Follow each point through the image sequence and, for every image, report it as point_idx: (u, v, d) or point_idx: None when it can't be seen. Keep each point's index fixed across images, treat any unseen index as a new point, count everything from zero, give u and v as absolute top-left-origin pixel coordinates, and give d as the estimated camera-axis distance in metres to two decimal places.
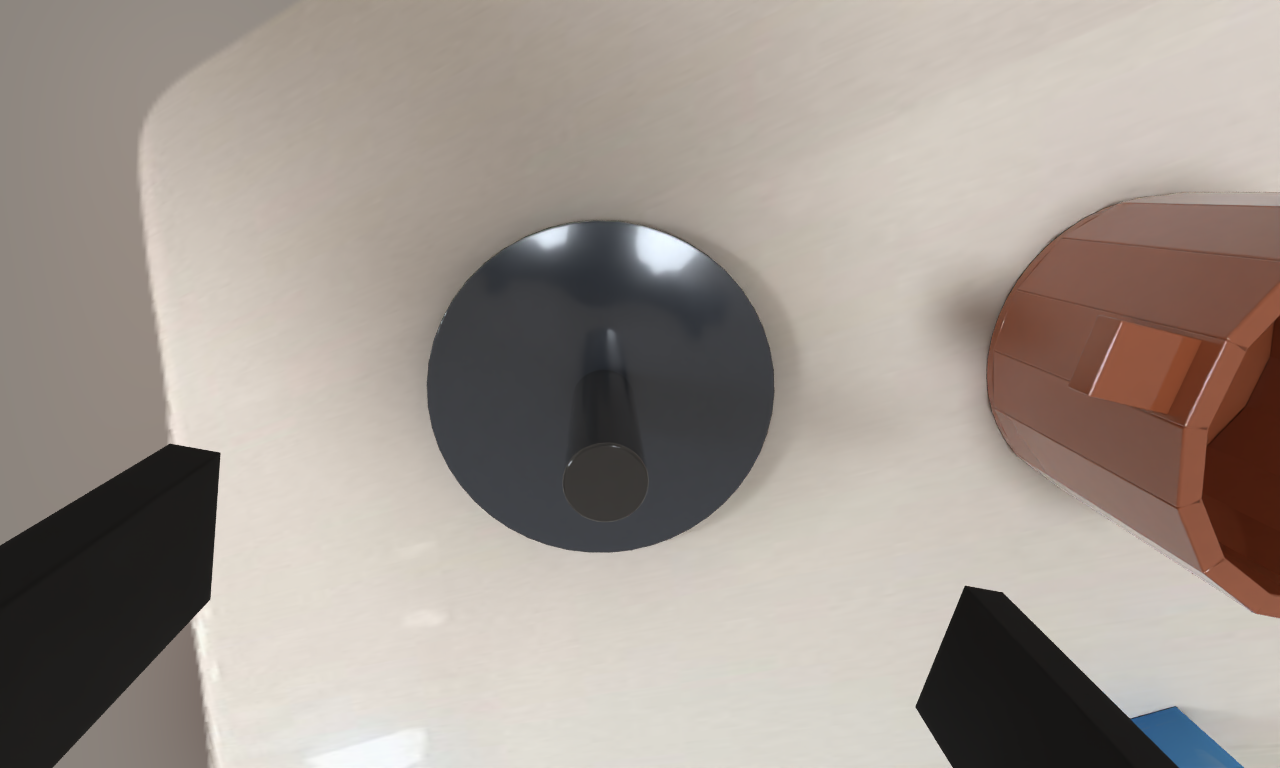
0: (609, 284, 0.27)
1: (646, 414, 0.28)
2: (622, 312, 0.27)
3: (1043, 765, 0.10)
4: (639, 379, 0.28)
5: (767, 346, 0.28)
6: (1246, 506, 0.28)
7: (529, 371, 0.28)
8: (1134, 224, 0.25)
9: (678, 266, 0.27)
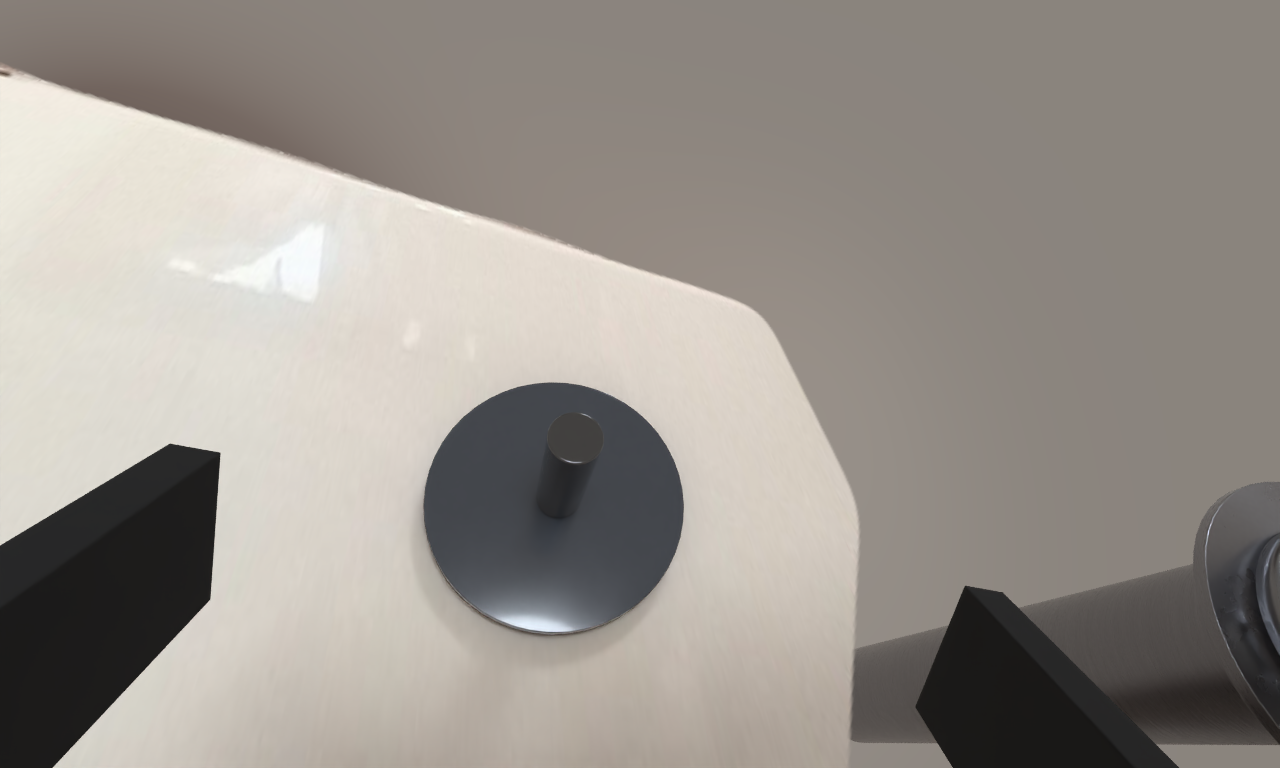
0: (640, 520, 0.38)
1: (538, 524, 0.37)
2: (619, 523, 0.38)
3: (1043, 765, 0.10)
4: (567, 525, 0.37)
5: (571, 630, 0.35)
6: None
7: None
8: None
9: (644, 570, 0.37)
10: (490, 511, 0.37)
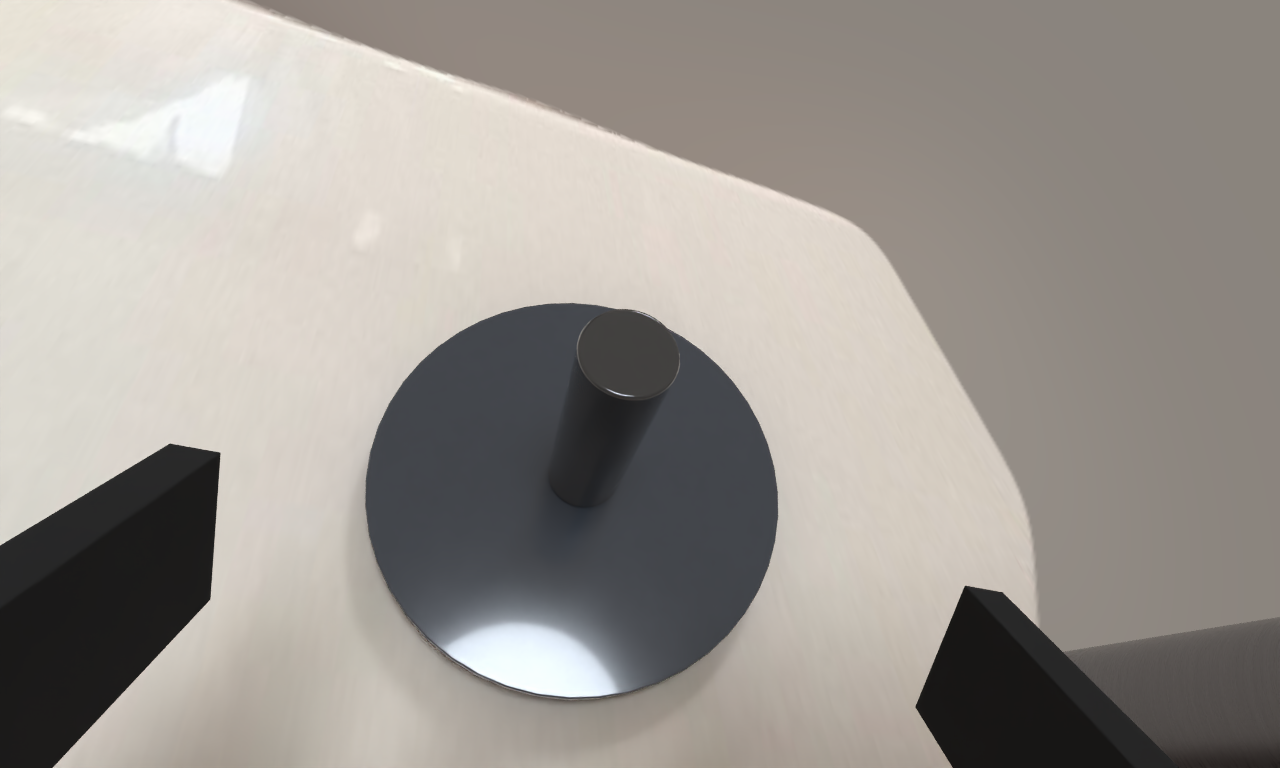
0: (712, 513, 0.24)
1: (552, 515, 0.23)
2: (679, 518, 0.24)
3: (1043, 765, 0.10)
4: (597, 518, 0.23)
5: (603, 694, 0.21)
6: None
7: None
8: None
9: (721, 595, 0.23)
10: (475, 493, 0.23)
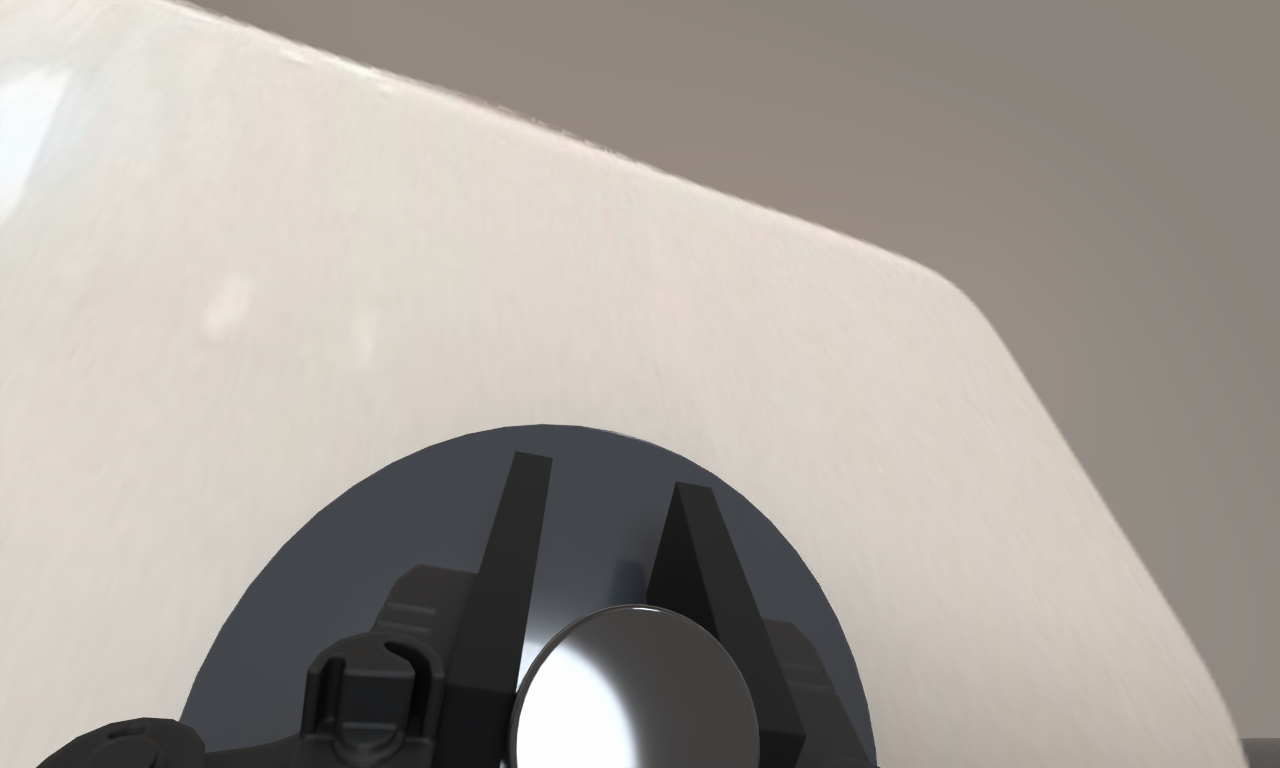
0: None
1: None
2: None
3: (679, 612, 0.11)
4: None
5: None
6: None
7: None
8: None
9: None
10: None
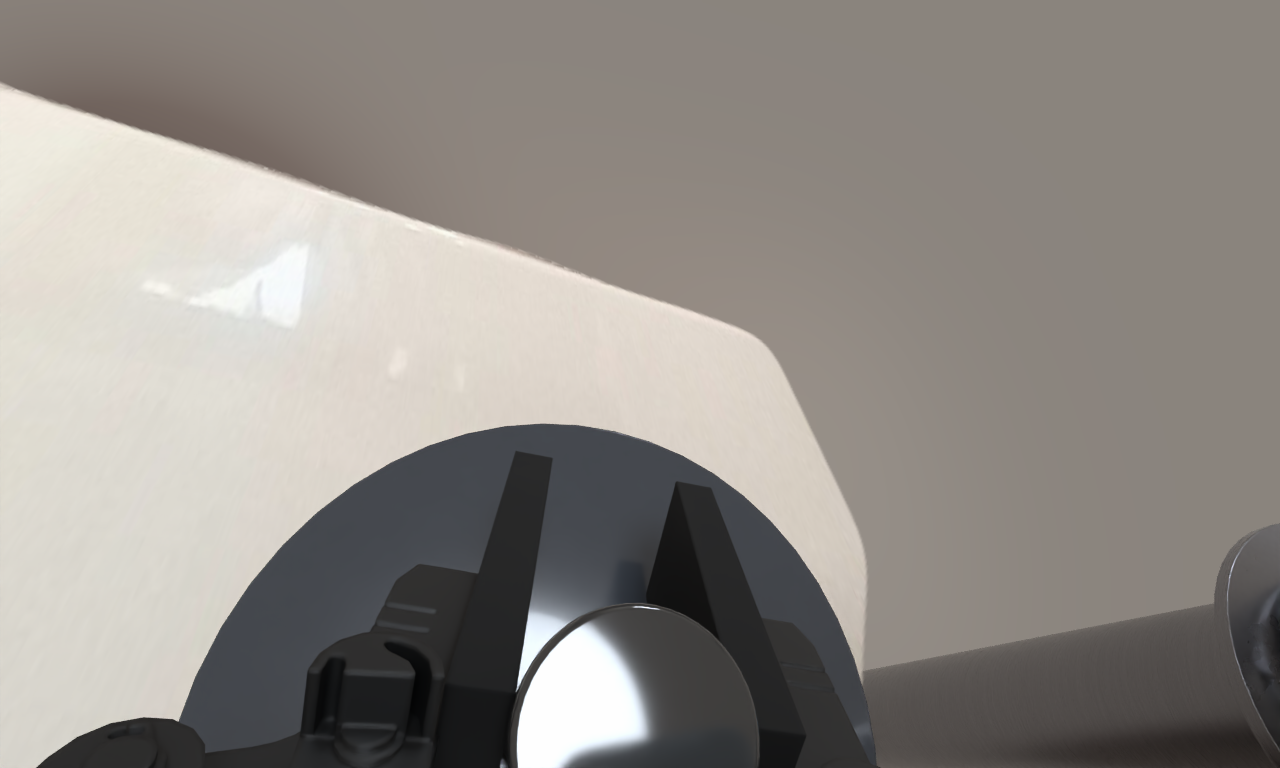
0: None
1: None
2: None
3: None
4: None
5: None
6: None
7: None
8: None
9: None
10: None
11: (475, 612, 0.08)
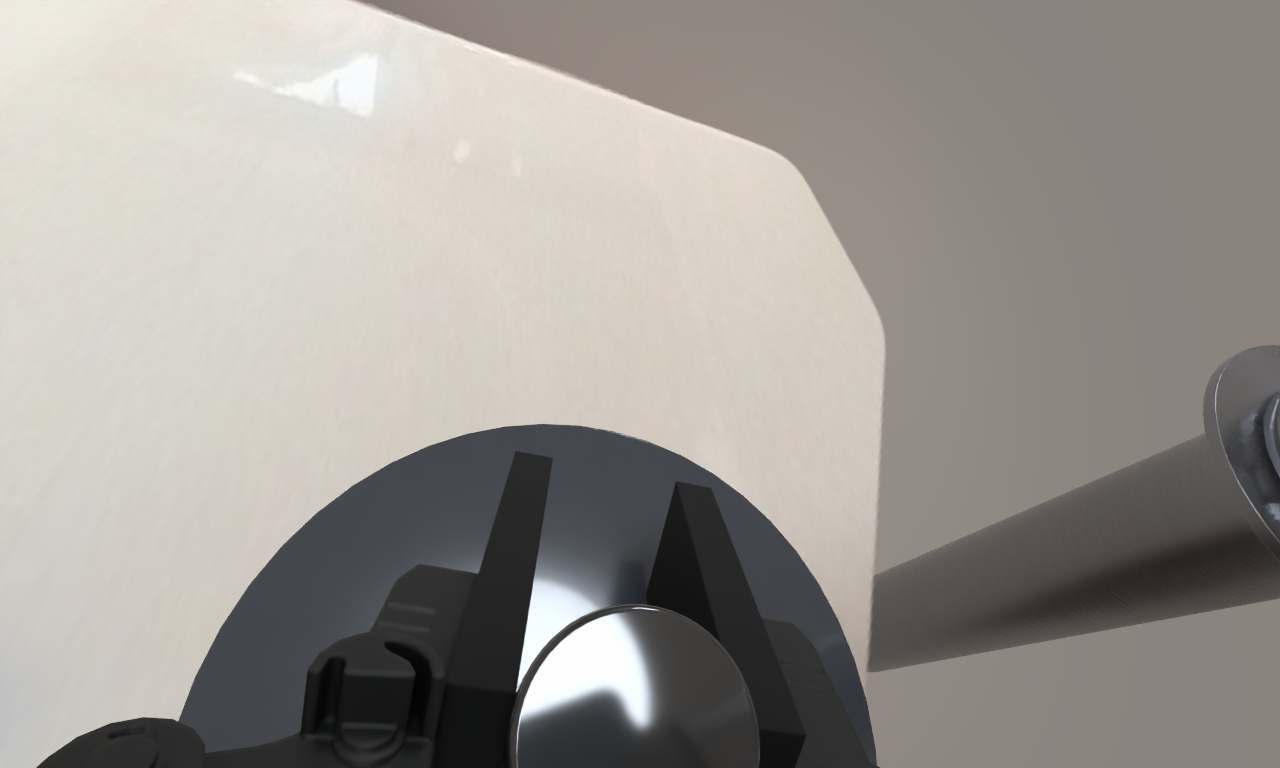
0: None
1: None
2: None
3: (678, 612, 0.11)
4: None
5: None
6: None
7: None
8: None
9: None
10: None
11: (475, 612, 0.08)
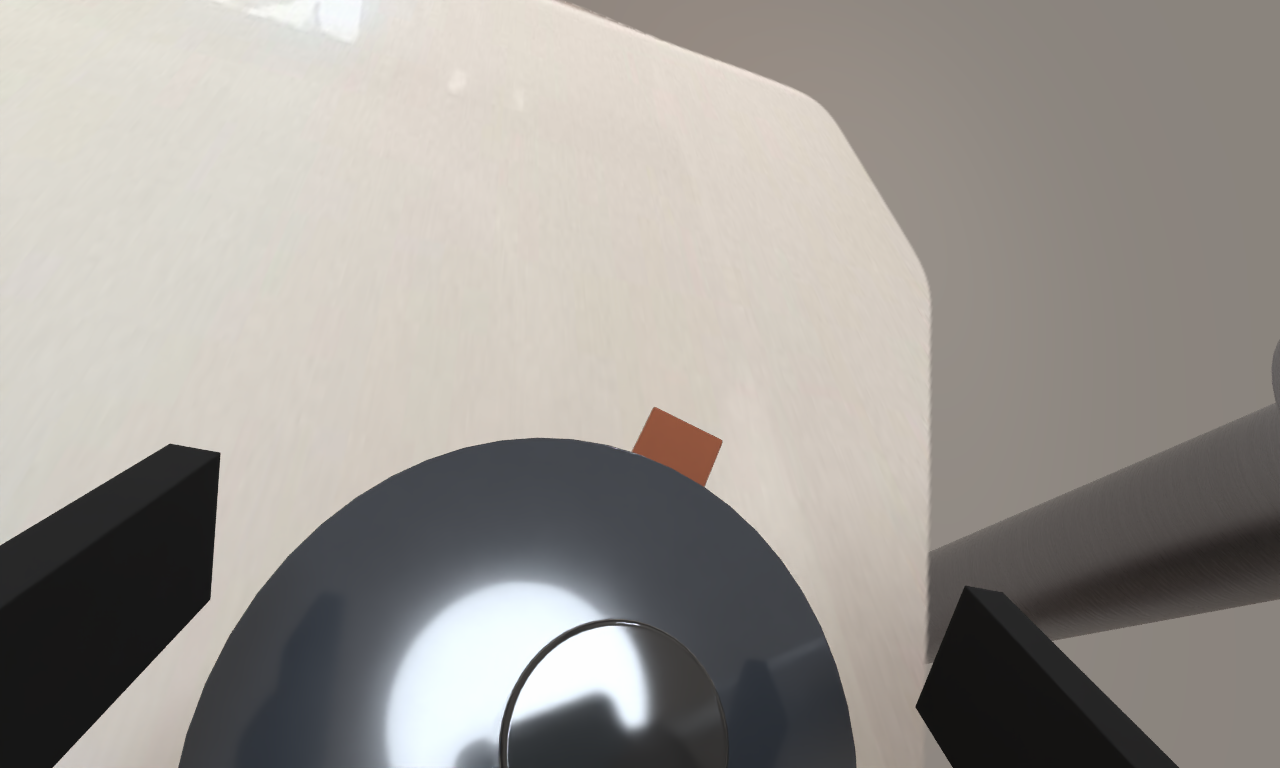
0: None
1: None
2: None
3: (1043, 765, 0.10)
4: None
5: None
6: None
7: (629, 614, 0.16)
8: None
9: None
10: None
11: None
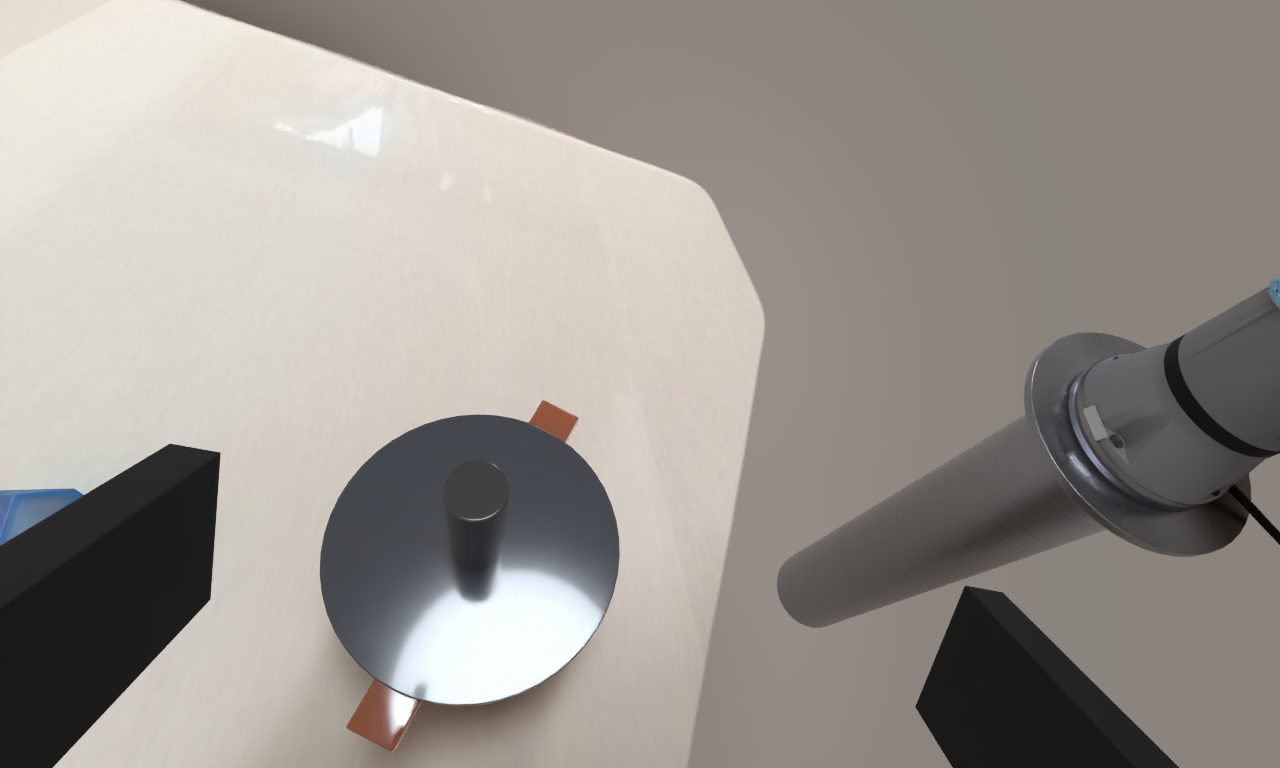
0: (568, 573, 0.34)
1: (451, 577, 0.33)
2: (544, 577, 0.34)
3: (1043, 765, 0.10)
4: (484, 578, 0.33)
5: (479, 702, 0.30)
6: None
7: (517, 495, 0.35)
8: None
9: (569, 632, 0.33)
10: (397, 562, 0.33)
11: None
